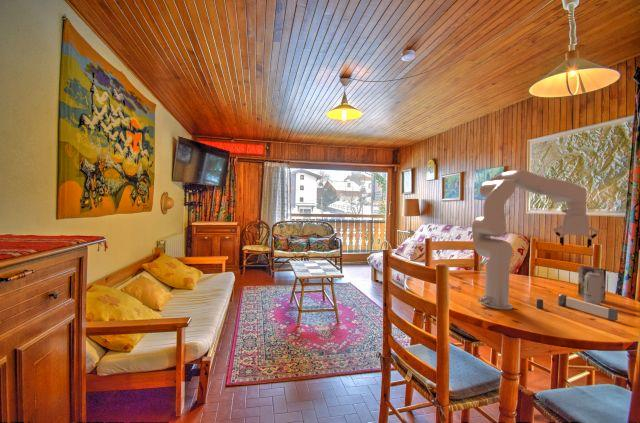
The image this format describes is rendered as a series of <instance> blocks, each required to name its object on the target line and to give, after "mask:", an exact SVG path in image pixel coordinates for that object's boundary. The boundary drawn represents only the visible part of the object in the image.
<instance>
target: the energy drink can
mask: <svg viewBox="0 0 640 423" xmlns="http://www.w3.org/2000/svg"><path fill="white" fill-rule="evenodd" d="M601 286H602V278H601V276H600V274H597V273H589V272H588V273H587V274H586V275H585V287H584V298H583V301H584V302H587V303H591V304H595V305H599V306H600V305H601V304H602V301H601Z"/></svg>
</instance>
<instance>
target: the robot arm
mask: <svg viewBox="0 0 640 423" xmlns="http://www.w3.org/2000/svg"><path fill="white" fill-rule="evenodd" d="M516 188H517V189H521V190H523V191H526V192H529V193H532V194H535V195H544V196H547V197H548V199H549V200H551V202H555V203H565V209H562V210H561V213H564V214H563V217H562V223H561V226H558V227H554V228H553V229H552V230H553V232H554V233H555V235H557V236H558V237H559V245H561V246H562V247H564V245H565V244H564V243H565V238H564V236H566V235H567V236H568V235H572V236H585V237H587V245H586V246H587V249H588V248H590V247H592V240H593V239H594V238H596V237H597V236H598V235H599V233H600V232H601V230H600V229H596V228H594V227H592V226H590V219H589V218H590V217H589V215H587V189H586V188H585V187H583V186H581V185H578V184H576V183H573V182H570V181H566V180H559V179H556V178H549V177H544V176H541V175H538V174H536V173H534V172H531V171H528V170H525V169H514V170H508V171H505V172H500V174H497V175H495V176H494V177H491V178H489V179H488V180H486V181H483V183H482V184H481V185H480V187H479V192H480V195H481V196H482V197H483V198H485V200H484V201H483V207H482V208H483V215H481V216H478V217H476V218H475V219H474V220H473V222H472V225H471V231H472V241H473V248H474V251H475V252H476V253H477V255H479V256H481V257H485V258H489V259H488V261H487V262H486V265H485V282H484V283H485V286H484V287H485V289H484V290H485V291H484V294H483V296H482V297H477V302H478V303H481V304H482V305H483V306H485V307H487V308H490V309H494V310H495V309H496V310H501V311H502V310H503V311H509V310H512V309H513V305H512V303H510V302H509V300H510V298H509V295H510V265H511V260H512V256H513V246H512V244H511V243H510V242H508V241H507V240H504V239H501V238H496V237H502V236H504V235H505V234H506V233H507V232H506V231H507V223H506V221H507V220H506V214H505V206H506V203H507V201H508V199H509V198H510V197H511V196H512V195H513V194H515V193H514V192H515V191H516ZM559 230H561V233H560V232H558V231H559ZM591 231H592V232H594V233H593V234H591V235H590V232H591ZM492 237H493V238H492ZM494 237H495V238H494Z"/></svg>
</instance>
